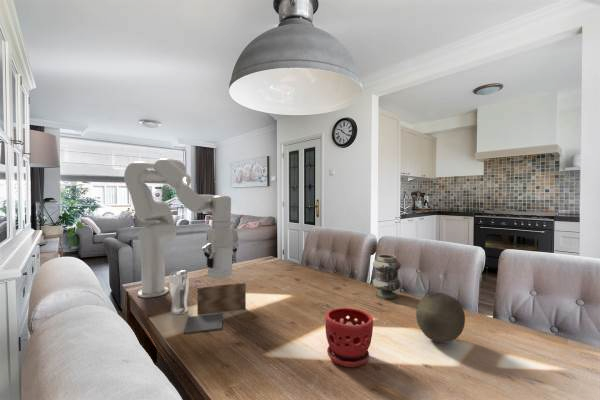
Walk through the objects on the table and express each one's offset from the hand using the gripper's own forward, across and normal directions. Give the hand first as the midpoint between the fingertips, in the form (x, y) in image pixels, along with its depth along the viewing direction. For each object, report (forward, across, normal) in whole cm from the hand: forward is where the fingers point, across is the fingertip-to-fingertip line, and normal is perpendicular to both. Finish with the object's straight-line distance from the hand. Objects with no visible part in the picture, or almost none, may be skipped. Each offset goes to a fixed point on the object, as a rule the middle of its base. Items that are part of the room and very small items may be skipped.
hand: (220, 265), depth 123 cm
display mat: (+15, +14, +15) cm, 26 cm away
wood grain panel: (+15, +4, +10) cm, 18 cm away
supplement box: (+5, 0, 0) cm, 5 cm away
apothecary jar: (+13, -57, +46) cm, 75 cm away
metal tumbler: (+16, +16, -1) cm, 23 cm away
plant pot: (+14, -5, +63) cm, 65 cm away
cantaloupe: (+13, -32, +78) cm, 85 cm away
